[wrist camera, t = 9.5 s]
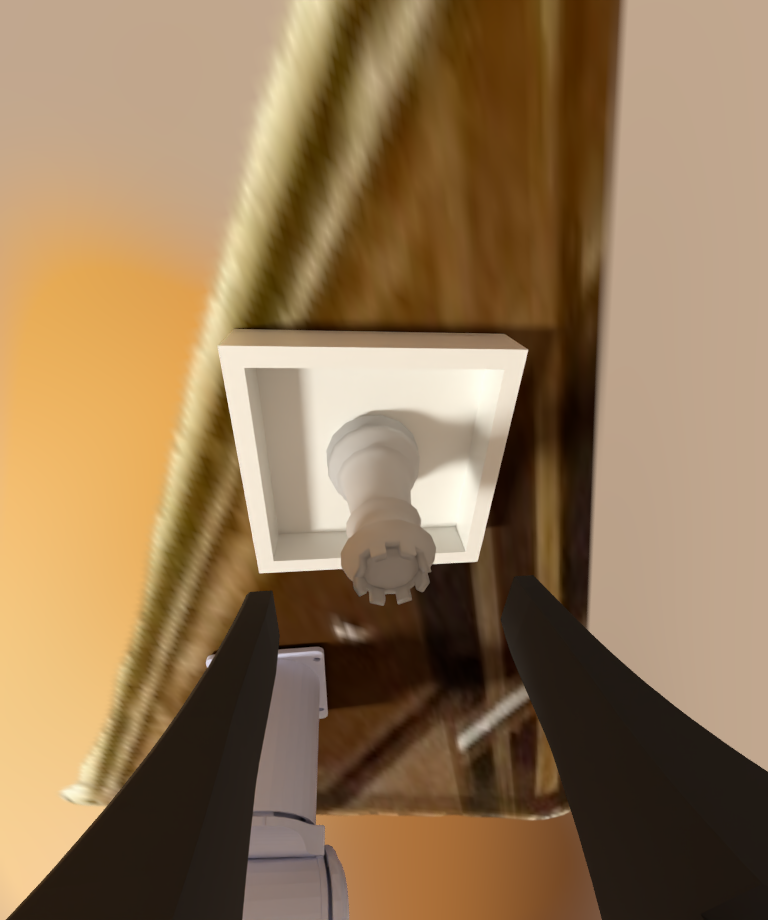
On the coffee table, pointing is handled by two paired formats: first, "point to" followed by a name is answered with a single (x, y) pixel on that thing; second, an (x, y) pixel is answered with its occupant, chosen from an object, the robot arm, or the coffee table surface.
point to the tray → (355, 395)
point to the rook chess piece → (380, 508)
